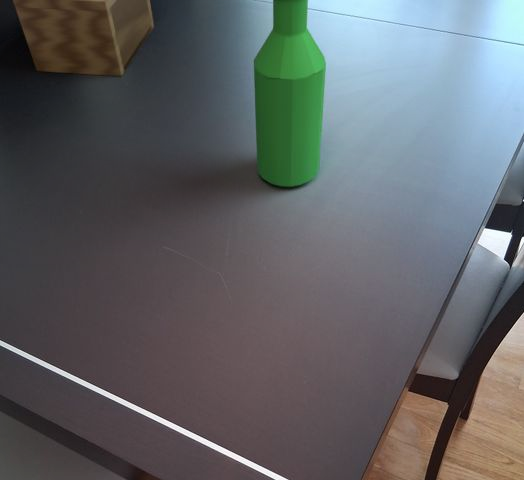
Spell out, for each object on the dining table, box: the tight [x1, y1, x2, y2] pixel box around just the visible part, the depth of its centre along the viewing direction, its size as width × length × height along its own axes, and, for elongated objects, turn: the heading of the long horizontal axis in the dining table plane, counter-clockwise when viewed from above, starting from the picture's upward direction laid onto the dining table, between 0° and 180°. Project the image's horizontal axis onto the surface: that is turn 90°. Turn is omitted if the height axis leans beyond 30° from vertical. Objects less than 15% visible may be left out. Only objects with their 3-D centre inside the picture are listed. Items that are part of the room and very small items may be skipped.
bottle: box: [253, 0, 327, 188], centre depth 71 cm, size 9×9×25 cm
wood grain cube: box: [12, 0, 155, 77], centre depth 102 cm, size 16×20×12 cm
